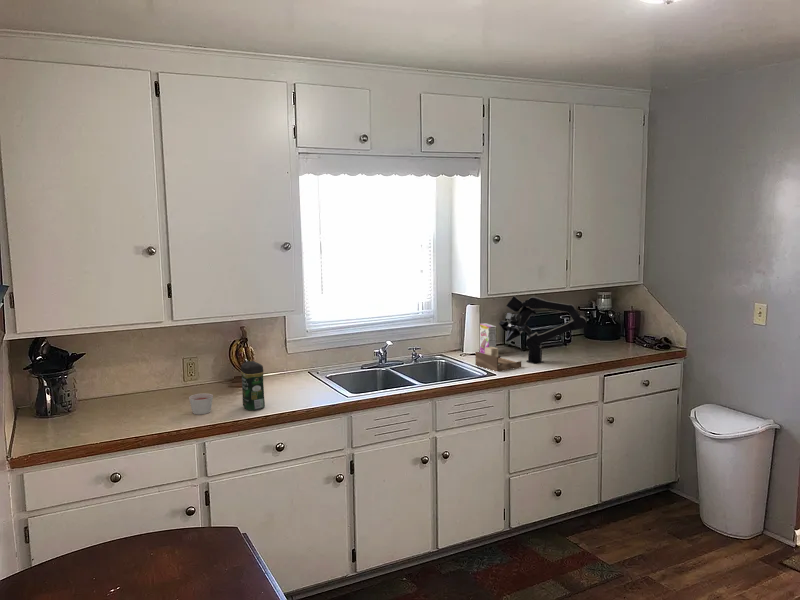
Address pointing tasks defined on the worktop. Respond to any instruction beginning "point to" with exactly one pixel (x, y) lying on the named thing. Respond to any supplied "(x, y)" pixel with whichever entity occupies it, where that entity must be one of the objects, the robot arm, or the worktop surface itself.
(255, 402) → the coffee jar
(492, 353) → the maple block
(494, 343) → the candy bar box
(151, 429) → the worktop surface
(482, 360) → the trap box
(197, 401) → the candle
